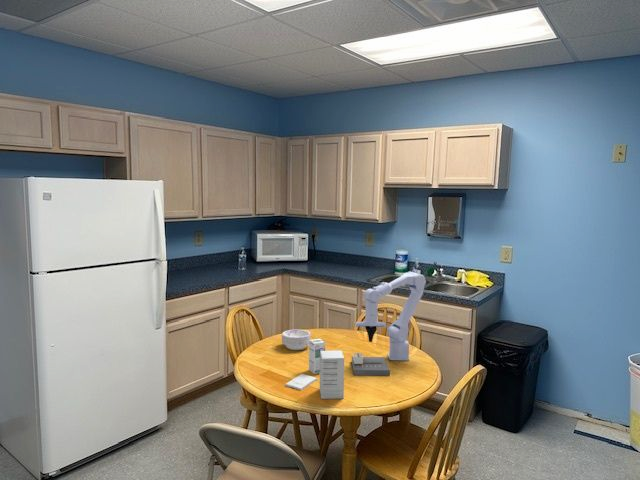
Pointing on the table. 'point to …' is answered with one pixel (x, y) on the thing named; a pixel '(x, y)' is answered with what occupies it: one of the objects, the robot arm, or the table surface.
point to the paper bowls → (296, 339)
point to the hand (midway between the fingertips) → (370, 341)
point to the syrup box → (315, 354)
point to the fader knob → (358, 358)
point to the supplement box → (331, 374)
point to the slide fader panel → (371, 366)
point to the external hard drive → (301, 382)
